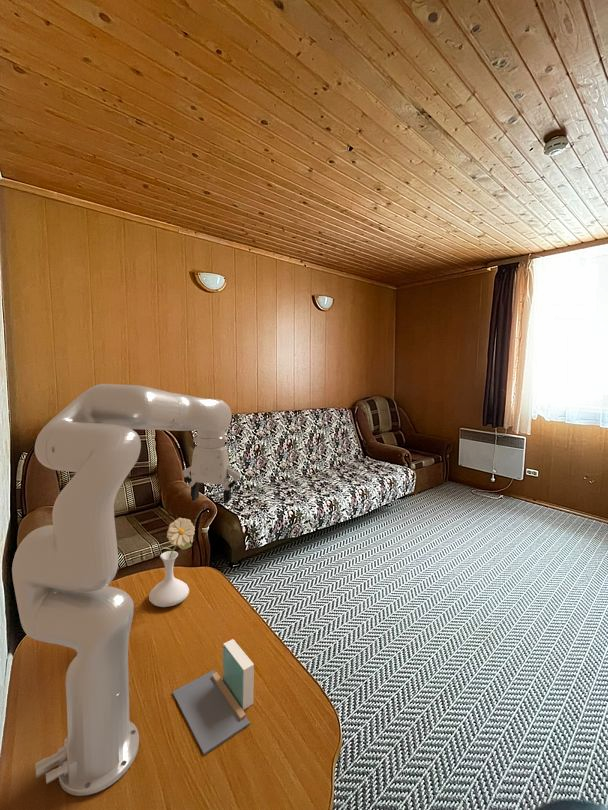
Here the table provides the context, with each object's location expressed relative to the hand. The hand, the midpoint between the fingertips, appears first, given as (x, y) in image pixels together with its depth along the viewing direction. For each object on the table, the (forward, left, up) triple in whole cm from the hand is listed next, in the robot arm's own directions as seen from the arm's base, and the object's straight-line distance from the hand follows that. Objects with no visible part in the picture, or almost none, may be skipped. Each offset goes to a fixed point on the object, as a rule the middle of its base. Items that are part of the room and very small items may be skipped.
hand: (210, 500), depth 107 cm
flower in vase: (-8, +8, -31) cm, 33 cm away
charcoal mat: (-15, -32, -31) cm, 47 cm away
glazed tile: (-8, -32, -31) cm, 45 cm away
